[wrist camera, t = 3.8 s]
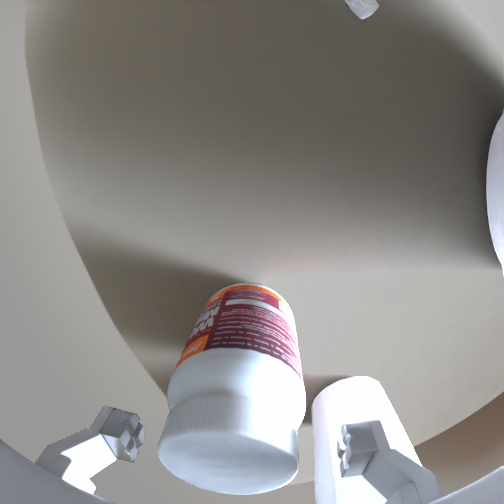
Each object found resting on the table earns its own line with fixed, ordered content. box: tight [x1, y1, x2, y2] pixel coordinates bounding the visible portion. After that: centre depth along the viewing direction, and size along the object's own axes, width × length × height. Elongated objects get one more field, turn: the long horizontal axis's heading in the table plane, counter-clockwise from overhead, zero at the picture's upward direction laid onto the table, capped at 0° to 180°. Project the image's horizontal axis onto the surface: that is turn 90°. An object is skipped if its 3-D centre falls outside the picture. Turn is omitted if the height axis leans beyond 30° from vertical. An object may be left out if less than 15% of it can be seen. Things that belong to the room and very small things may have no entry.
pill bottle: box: [157, 283, 306, 495], centre depth 13 cm, size 6×6×11 cm
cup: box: [311, 376, 421, 504], centre depth 13 cm, size 8×8×14 cm
